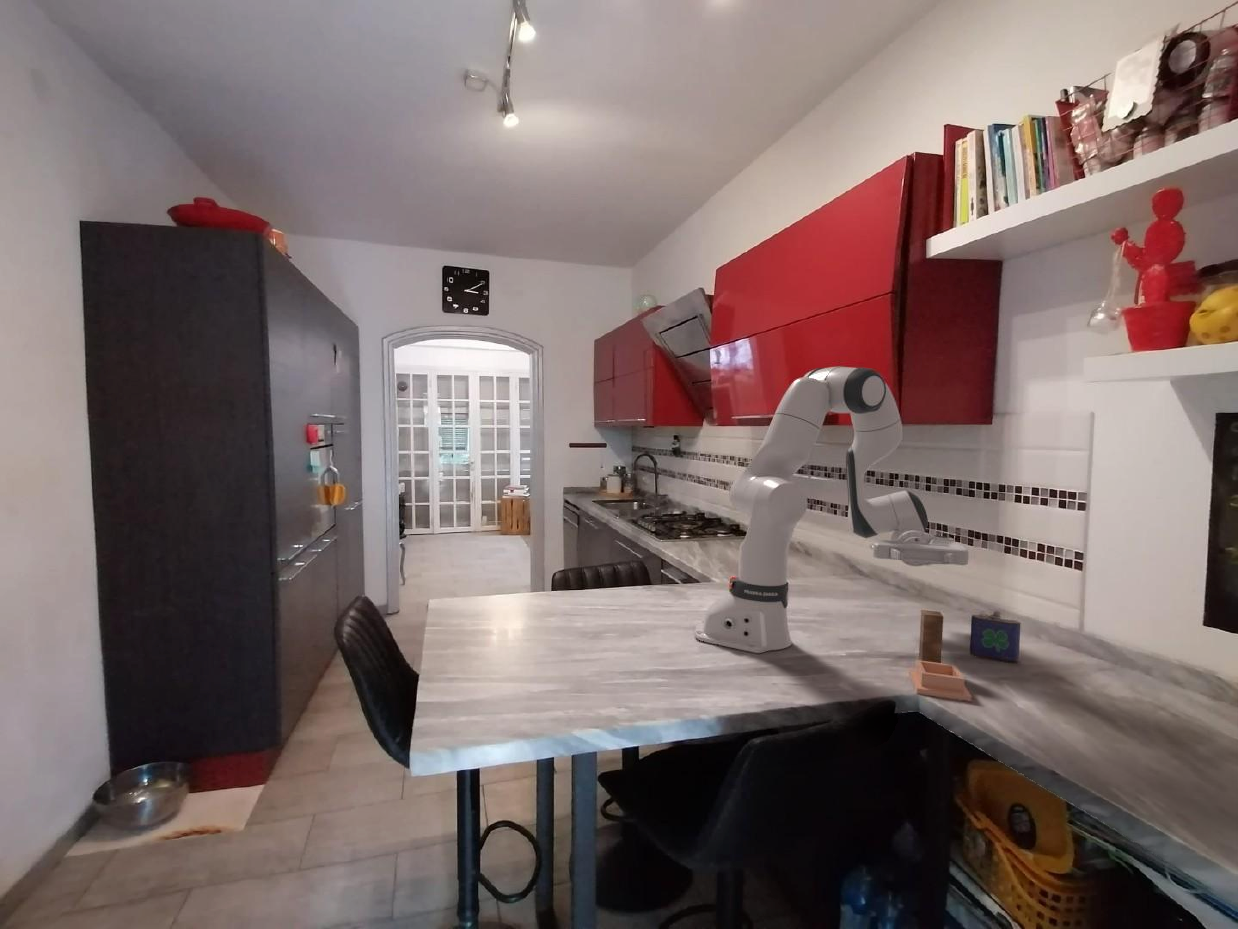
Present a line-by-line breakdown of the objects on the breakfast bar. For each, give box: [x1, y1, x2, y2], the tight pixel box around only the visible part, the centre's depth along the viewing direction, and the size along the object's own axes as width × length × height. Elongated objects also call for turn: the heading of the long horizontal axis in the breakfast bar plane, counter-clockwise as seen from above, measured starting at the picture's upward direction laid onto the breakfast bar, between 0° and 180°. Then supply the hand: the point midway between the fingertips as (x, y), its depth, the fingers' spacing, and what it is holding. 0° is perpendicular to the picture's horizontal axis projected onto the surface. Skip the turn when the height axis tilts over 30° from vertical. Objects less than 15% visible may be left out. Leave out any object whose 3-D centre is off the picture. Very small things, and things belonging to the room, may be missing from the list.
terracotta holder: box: [907, 659, 973, 702], centre depth 110 cm, size 9×10×4 cm
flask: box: [969, 610, 1022, 664], centre depth 126 cm, size 9×3×11 cm, turn 63°
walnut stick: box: [918, 609, 944, 663], centre depth 118 cm, size 4×4×12 cm
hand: (924, 558), depth 129 cm, fingers open, 8 cm apart
